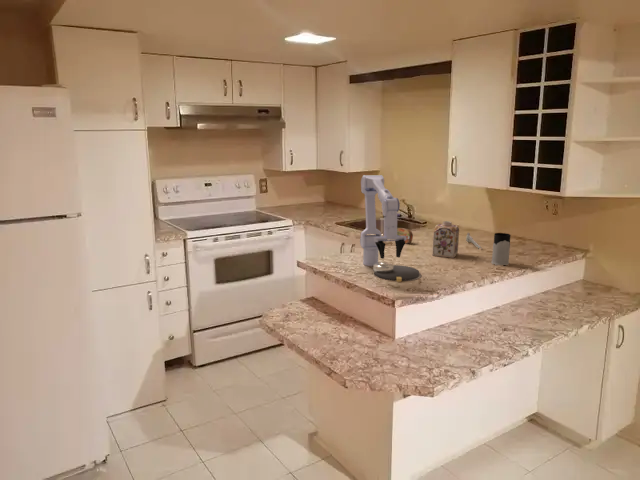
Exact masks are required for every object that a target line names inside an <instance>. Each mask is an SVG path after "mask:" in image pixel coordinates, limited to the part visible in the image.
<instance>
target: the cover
mask: <svg viewBox="0 0 640 480" xmlns="http://www.w3.org/2000/svg"><path fill="white" fill-rule="evenodd" d="M394 265H395V264H392V263H388V262H386V261H380V262H378V263H375V264H374V265H373V266H372V267H373V268H372V269H373V271H372V272H373V273H374V272H377V273H392V272H393V269H394Z"/></svg>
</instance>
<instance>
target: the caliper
mask: <svg viewBox="0 0 640 480" xmlns="http://www.w3.org/2000/svg"><path fill="white" fill-rule="evenodd" d="M465 237H466V238H465V242H466V241H467V242H469V243H472V244H473V245H474V246H475V247H476V248H477V247H478V248H481V249H482V247H481V245H480V244H478V243H477V241H475V240H474V238H473V236H471V234H470V232H467V234H466V236H465ZM467 242H466V243H467ZM478 248H477V249H478Z"/></svg>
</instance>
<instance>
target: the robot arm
mask: <svg viewBox="0 0 640 480" xmlns="http://www.w3.org/2000/svg"><path fill="white" fill-rule="evenodd" d="M360 190H361V193H362V194H364V207H365V208H364V209H365V229H363V230H362V231H361V232H360V238H359V244H360V247H361V248H362V249H363V256H362V257H363V258H362V259H363V262H362V265H364V266H368V267H373V265H374V264H375V263H379V257H380V259H382V260H384V259H385V248H386V243H385V242H395V243H394V244H395V254H396V257H395V258H401V254H402V251H403V248H404V246H405V240H406V236H397V228H398V212H399V211H400V207H401V205H400V200H399V198H398V197H394V196H393V194H392V193H391V191H390V190H389V189H388V188H386V187H385V178H384V176H383V175H382V174H379V175H377V174H376V175H367V174H366V175H365V174H363V175H362V177H361V179H360ZM376 195H377V198H378V199H379V202H380V203H381V210H382V216H383V235H382V232H381V230H379V229H378V228H377V214H376V213H377V212H376V211H377V210H376Z"/></svg>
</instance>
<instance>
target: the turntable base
mask: <svg viewBox="0 0 640 480" xmlns="http://www.w3.org/2000/svg"><path fill="white" fill-rule="evenodd" d="M421 277H422V274H421V273H420V272H419V277H418V278H416V279H412V280H406V282H409V281H410V282H412V281H415V280H419V279H420V278H421ZM375 278H378V276H376V275H375ZM380 279H382V280H385V281H387V279H383V278H380ZM390 281H391V282H394V280H390ZM402 282H405V280H402Z"/></svg>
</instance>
